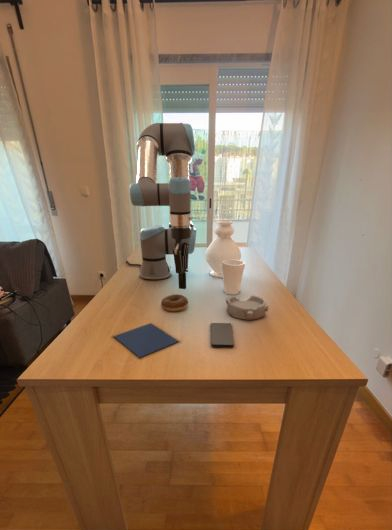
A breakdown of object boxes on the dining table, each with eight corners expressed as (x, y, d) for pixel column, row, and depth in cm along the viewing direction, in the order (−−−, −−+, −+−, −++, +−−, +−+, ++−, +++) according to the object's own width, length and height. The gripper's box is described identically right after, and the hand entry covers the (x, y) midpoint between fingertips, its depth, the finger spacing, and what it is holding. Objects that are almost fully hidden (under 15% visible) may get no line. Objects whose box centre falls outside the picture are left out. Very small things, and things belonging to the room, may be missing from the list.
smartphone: (230, 322, 98) (234, 345, 85) (230, 325, 98) (233, 347, 85) (210, 322, 98) (211, 344, 85) (210, 324, 98) (210, 347, 85)
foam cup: (241, 296, 120) (244, 266, 113) (219, 295, 122) (221, 264, 115) (242, 288, 128) (245, 259, 121) (222, 287, 130) (223, 258, 123)
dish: (220, 309, 109) (221, 297, 107) (251, 303, 114) (252, 291, 111) (240, 325, 98) (241, 311, 95) (273, 318, 103) (275, 305, 100)
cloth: (113, 337, 91) (113, 336, 91) (150, 324, 99) (150, 323, 99) (139, 358, 81) (139, 357, 81) (178, 341, 89) (178, 341, 88)
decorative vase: (230, 267, 156) (233, 218, 143) (245, 277, 142) (250, 223, 128) (200, 270, 151) (200, 219, 138) (212, 281, 137) (213, 225, 124)
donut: (189, 312, 107) (188, 302, 105) (161, 313, 106) (160, 303, 104) (187, 301, 116) (187, 292, 114) (161, 302, 115) (161, 293, 113)
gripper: (184, 229, 97) (186, 294, 110) (195, 224, 108) (195, 284, 120) (164, 228, 99) (168, 292, 112) (177, 223, 110) (179, 282, 122)
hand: (182, 288), depth 116 cm, fingers closed
